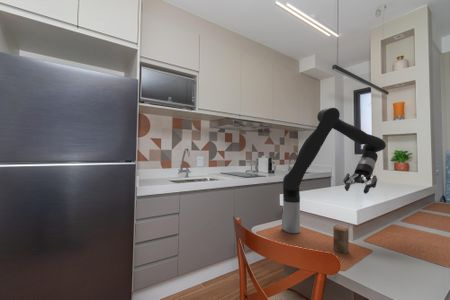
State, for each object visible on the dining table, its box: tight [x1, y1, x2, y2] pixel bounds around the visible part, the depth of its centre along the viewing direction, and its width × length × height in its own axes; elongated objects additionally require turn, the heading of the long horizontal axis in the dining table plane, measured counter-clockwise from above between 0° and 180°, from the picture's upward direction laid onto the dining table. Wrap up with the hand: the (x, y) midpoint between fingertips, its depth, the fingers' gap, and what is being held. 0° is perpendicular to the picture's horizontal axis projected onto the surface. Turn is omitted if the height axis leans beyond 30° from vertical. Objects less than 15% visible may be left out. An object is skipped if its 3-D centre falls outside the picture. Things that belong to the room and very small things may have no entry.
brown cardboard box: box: [332, 224, 350, 255], centre depth 95 cm, size 5×4×11 cm
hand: (355, 191), depth 104 cm, fingers open, 8 cm apart
